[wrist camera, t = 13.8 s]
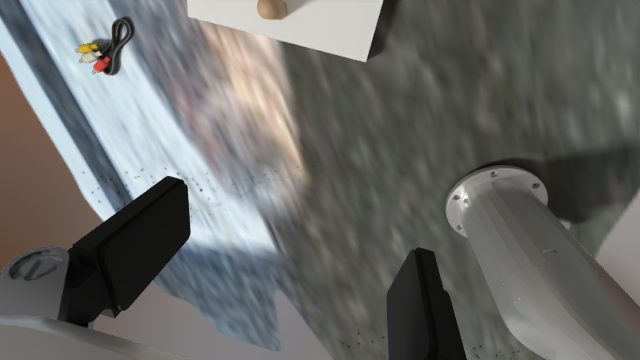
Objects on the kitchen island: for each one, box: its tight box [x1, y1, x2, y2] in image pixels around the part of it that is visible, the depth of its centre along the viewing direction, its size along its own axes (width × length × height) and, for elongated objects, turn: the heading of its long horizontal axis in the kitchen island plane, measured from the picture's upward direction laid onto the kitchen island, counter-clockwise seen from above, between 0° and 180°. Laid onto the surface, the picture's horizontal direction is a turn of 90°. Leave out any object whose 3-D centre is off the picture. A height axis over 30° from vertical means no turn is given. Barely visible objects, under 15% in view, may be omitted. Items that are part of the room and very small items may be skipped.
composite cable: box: [75, 18, 132, 75], centre depth 37 cm, size 10×5×2 cm, turn 117°
